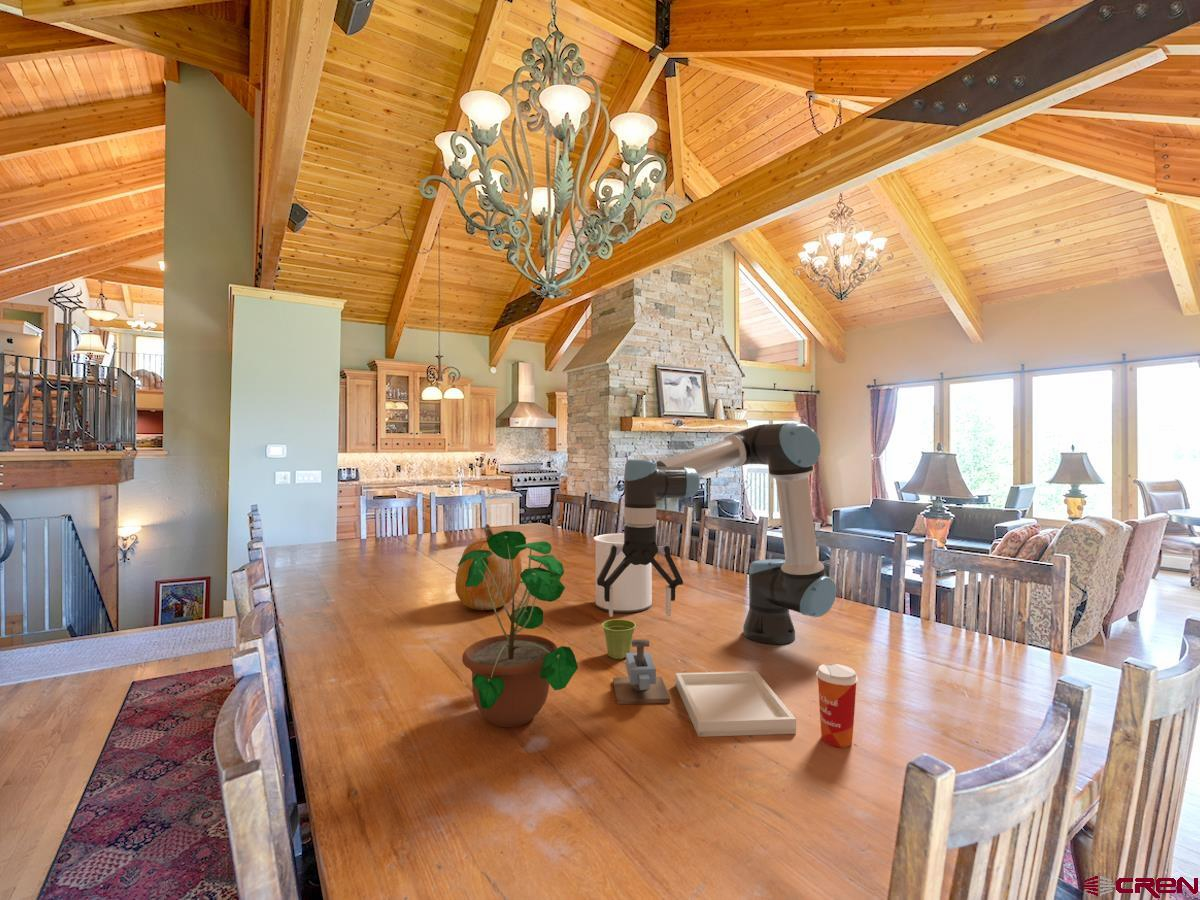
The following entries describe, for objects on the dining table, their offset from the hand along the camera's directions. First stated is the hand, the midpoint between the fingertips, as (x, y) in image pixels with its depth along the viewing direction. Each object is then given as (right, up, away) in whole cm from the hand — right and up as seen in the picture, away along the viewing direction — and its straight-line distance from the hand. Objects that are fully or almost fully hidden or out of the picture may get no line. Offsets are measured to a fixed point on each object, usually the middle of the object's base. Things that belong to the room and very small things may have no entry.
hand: (639, 614), depth 133 cm
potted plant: (-25, -19, -10) cm, 33 cm away
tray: (+20, -18, -8) cm, 28 cm away
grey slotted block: (0, -14, -1) cm, 14 cm away
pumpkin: (-49, -18, +71) cm, 88 cm away
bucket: (-1, -18, +71) cm, 73 cm away
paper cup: (+38, -19, -22) cm, 47 cm away
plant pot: (-4, -18, +23) cm, 30 cm away
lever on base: (0, -18, 0) cm, 18 cm away
